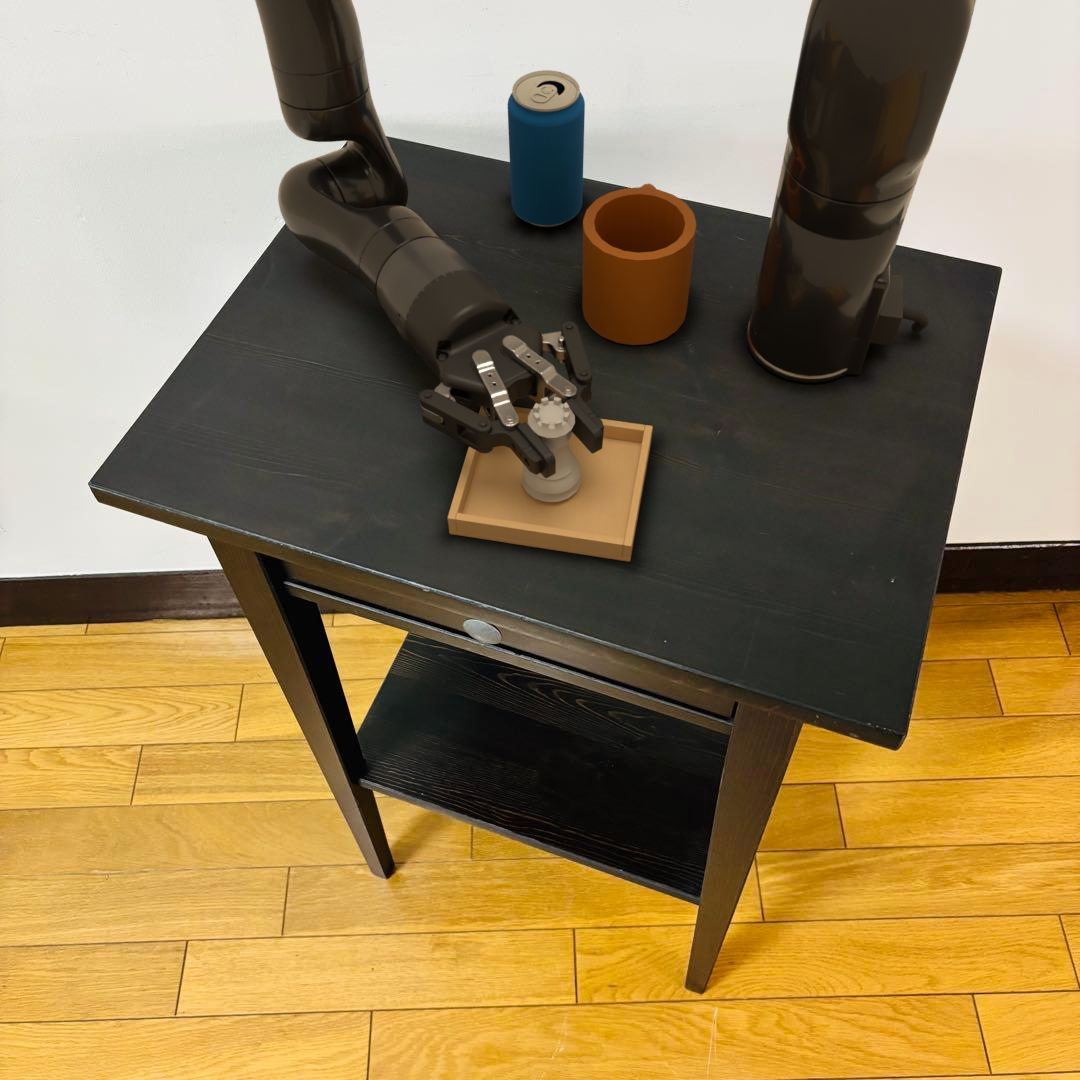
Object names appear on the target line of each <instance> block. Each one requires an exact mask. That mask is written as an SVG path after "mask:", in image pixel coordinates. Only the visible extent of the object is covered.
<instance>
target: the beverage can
mask: <svg viewBox="0 0 1080 1080" xmlns="http://www.w3.org/2000/svg"><path fill="white" fill-rule="evenodd" d="M511 91H512V92H511V94H510V95H509V96H508V100H507V124H508V145H509V146H508V150H509V154H508V155H509V172H510V174H509V176H510V198H511V199H510V200H511V201H510V202H511V203H510V204H511V208H512V211H513V212H514V213H515V215H516V217H518V218H519V219H521V220H522V221H524V222H526V223H529V224H531V225H534V226H536V227H540V228H541V227H542V228H551V227H557V226H560V225H563V224H564V223H566V222H569V221H571V220H572V219H574V218H575V217H576V216H577V215H578V214H579V213H580V211H581V209H582V207H583V198H584V197H583V193H584V191H583V190H584V189H583V188H584V187H583V186H584V151H585V112H586V102H585V98H584V96H583V94H582V92H581V88H580V84H579V82H578V81H577V80H576V79H575V78H574V76H573V77H572V76H571V75H570V74H568V73H565V72H562V71H557V70H549V69H546V70H545V69H543V70H536V71H531V72H528V73H526V74H523V75H522V76H521V77H519V78H518V79H516V81H515V82H514V83H513V85H512V88H511Z"/></svg>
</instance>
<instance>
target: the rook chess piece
mask: <svg viewBox="0 0 1080 1080" xmlns="http://www.w3.org/2000/svg"><path fill="white" fill-rule="evenodd" d="M531 409H532V410H531V412H530V414H529V416H528V424H529V426H530V428H531V429H532V430H533V431H534V432H535V433H536V434H537V436H538V437H539V438H540V439H541V440H542V441H543V442H544V444H545V445H546V446H547V447H548V448H549V449H550V450H551V452H552V453H553V454H554V456H555V459H556V473H555V474H554V475H552V476H550V477H548V478H544V477H543V475H542V474H541V473H539V474H537V475H535V474H534V473H532V472H530V471H529V470H528V469H527V468H526V466H525V465H524V464H523V466H522V485H523V487H524V489H525V490H526V492H527V493H528V494H530V495H531V496H532V497H534V498H535V499H538V500H541V501H544V502H559V501H562V500H564V499H567V498H569V497H571V496H572V495H573V494H574V493H575V492H576V491H577V490H578V488H579V486H580V484H581V472H580V464H579V462H578V460H577V459H576V457H575V455H574V454H573V453H572V452H571V450H570V448H569V443H568V442H569V440H570V438H571V430H572V428H573V426H574V424H575V415H574V414H573V412H572V410H571V409H570V408H569V406H568V404H567V402H566V403H564V404H562V403H561V398H558V397H554V401H548V397H545V398H542V399H541V404H537V403H536V402H535V404H534V405H533V407H532V408H531Z"/></svg>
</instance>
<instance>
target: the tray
mask: <svg viewBox="0 0 1080 1080" xmlns="http://www.w3.org/2000/svg"><path fill="white" fill-rule="evenodd" d="M513 407H514V409H515V411H516V413H517V415H518V417H519V422H520V423H521V424H522V423H524V422H526V423H527V424H528V416H529V414H530V412H531V410H532V409H533V408H526V407H519V406H513ZM478 414H480V415H482V416H484V417H486V418H488V417H487V415H486V413H485V411H484V409H483V407H482V406H480V409H479V412H478ZM600 419H601V420H602V422H603V425H604V433H603V445H602V449H601V450H599V451H597V452H595V453H591V452H590V451H589V450H588V449H587V448H586V447H585V446H584V444H583V443H582V442H581V441H580V440H579V439H578V438H577V437H576V436H575V434H574V433H573V432H572V431H571V438H570V440H569V442H568V443H569V448H570V450H571V452H572V453H573V454H574V455H575V457H576V459H577V460H578V462H579V464H580V472H581V484H580V486H579V488H578V490H577V491H576V492H575V493H574V494H573V495H572V496H571V497H569V498H567V499H564V500H562V501H559V502H544V501H541V500H538V499H535V498H534V497H532V496H531V495H530V494H528V493H527V492H526V490H525V489H524V487H523V485H522V466H523V463H522V462H521V460H520V459H519V458H518V457H517V456H516V455H515V453H514V452H513V451H512V450H511V449H510V448H507V447H505V446H498V447H493V450H492V451H491V452H489V453H480V452H478V451H476V450H475V449H473V448H471V447H469V446H468V448H467V450H466V455H465V458H464V462H463V464H462V468H461V471H460V474H459V478H458V481H457V485H456V488H455V492H454V495H453V498H452V501H451V505H450V507H449V511H448V514H447V517H446V518H447V524H448V525H447V526H448V532H449V535H453V536H454V535H455V536H460V537H461V536H462V537H467V538H474V539H480V540H485V541H493V542H500V543H506V544H512V545H519V546H525V547H531V548H539V549H544V550H552V551H558V552H565V553H570V554H577V555H582V556H591V557H595V558H596V557H597V558H602V559H610V560H614V561H615V560H616V561H622V562H629V563H630V562H631V561H632V553H633V548H634V541H635V536H636V531H637V524H638V520H639V513H640V508H641V502H642V496H643V490H644V485H645V480H646V474H647V468H648V463H649V457H650V452H651V444H652V438H653V429H654V425H648V424H642V423H635V422H627V421H619V420H613V419H606V418H600ZM528 425H529V424H528Z"/></svg>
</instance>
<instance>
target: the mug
mask: <svg viewBox="0 0 1080 1080" xmlns="http://www.w3.org/2000/svg"><path fill="white" fill-rule="evenodd" d="M696 233H697V221H696V217H695V213H694V212H693V209H691V208H690V206H689V204H687V203H686V202H685V201H683V200H682V199H681V198H679V197H678V196H677V195H674V194H673V193H671V192H670V193H669V192H667V191H663V190H661V189H658V188H656V186H655V185H654V184H651V183H644V184H643V185H641V186H638V187H626V188H621V189H617V190H614V191H611V192H607V193H606V194H604V195H601V196H600V197H599V198H597V199H595V200H594V201H593V202H592V203H591V205H589V207H588V208H586V210H585V214H584V217H583V220H582V305H581V306H582V313H583V318H584V320H585V321H586V323H587V324H588V326H589V328H590V329H591V330H592V331H594V332H595V333H597V334H598V335H599V336H600V337H602V338H604V339H607V340H609V341H611V342H614V343H617V344H623V345H629V346H640V345H650V344H653V343H657V342H661V341H663V340H666V339H667V338H668V337H670V336H672V335H673V334H675V333H676V332H677V331H678V330H679V329H680V328H681V326H682V325H683V324H684V322H685V320H686V315H687V311H688V304H689V294H690V285H691V277H692V268H693V258H694V249H695V242H696Z"/></svg>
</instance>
